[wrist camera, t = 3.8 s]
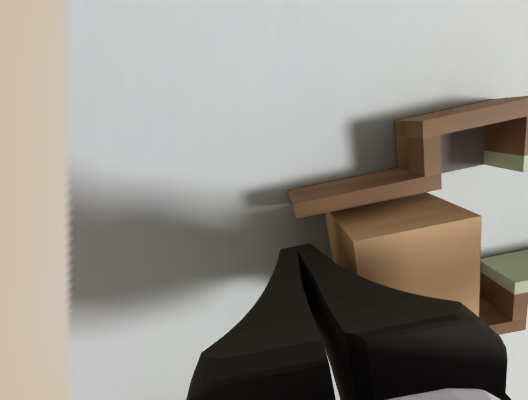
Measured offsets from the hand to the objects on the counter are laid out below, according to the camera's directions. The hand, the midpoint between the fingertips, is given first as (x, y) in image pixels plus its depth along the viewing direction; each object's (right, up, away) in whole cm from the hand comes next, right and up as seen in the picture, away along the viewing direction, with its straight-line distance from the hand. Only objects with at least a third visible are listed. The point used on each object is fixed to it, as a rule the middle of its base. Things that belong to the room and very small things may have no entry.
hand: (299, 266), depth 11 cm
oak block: (+4, +1, +1) cm, 4 cm away
